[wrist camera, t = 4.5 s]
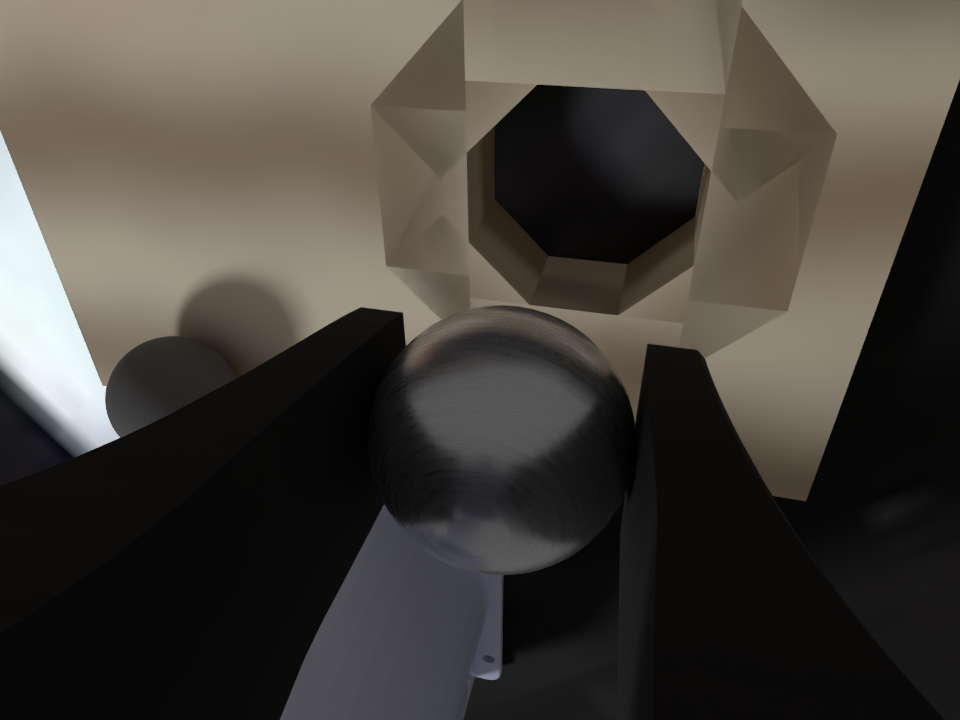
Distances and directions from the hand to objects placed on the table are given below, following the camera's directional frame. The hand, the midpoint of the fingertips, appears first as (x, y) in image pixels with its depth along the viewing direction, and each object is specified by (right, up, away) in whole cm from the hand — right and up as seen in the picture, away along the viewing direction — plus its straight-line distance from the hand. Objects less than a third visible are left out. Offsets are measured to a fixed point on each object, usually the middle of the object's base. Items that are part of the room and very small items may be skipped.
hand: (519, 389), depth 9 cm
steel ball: (0, 0, -1) cm, 1 cm away
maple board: (-2, +5, +8) cm, 10 cm away
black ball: (-8, -1, +9) cm, 12 cm away
